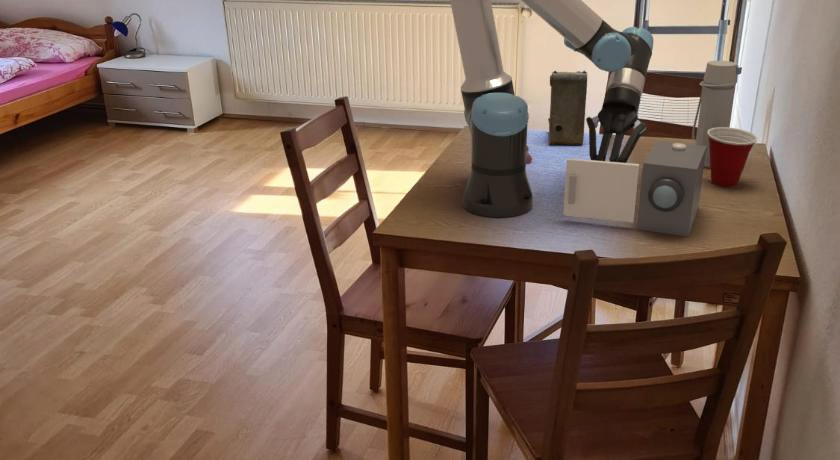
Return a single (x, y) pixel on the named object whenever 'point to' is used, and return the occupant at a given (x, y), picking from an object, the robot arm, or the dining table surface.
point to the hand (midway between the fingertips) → (599, 191)
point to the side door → (600, 189)
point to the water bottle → (714, 101)
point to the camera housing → (670, 188)
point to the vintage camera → (567, 108)
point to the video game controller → (528, 156)
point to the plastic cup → (728, 154)
